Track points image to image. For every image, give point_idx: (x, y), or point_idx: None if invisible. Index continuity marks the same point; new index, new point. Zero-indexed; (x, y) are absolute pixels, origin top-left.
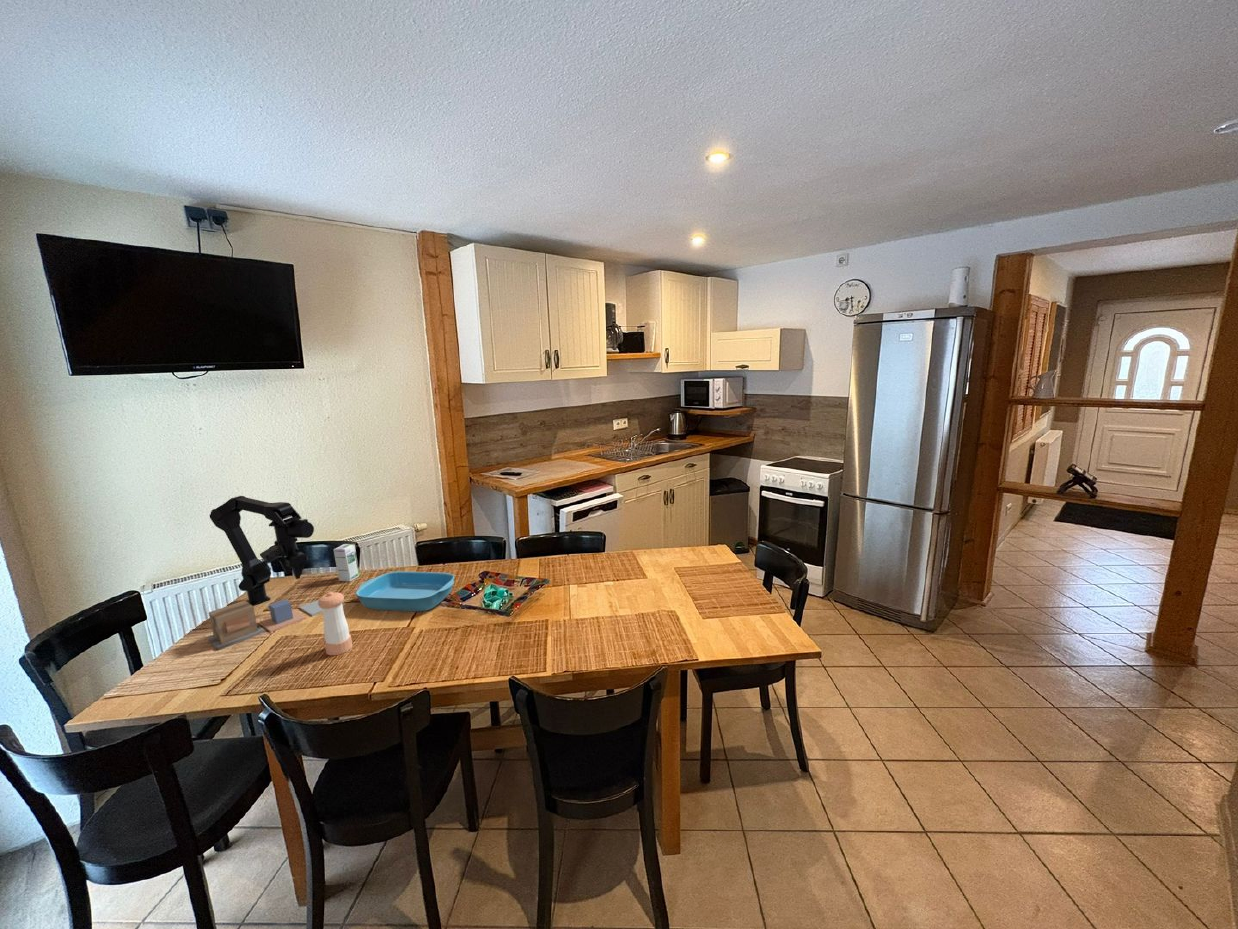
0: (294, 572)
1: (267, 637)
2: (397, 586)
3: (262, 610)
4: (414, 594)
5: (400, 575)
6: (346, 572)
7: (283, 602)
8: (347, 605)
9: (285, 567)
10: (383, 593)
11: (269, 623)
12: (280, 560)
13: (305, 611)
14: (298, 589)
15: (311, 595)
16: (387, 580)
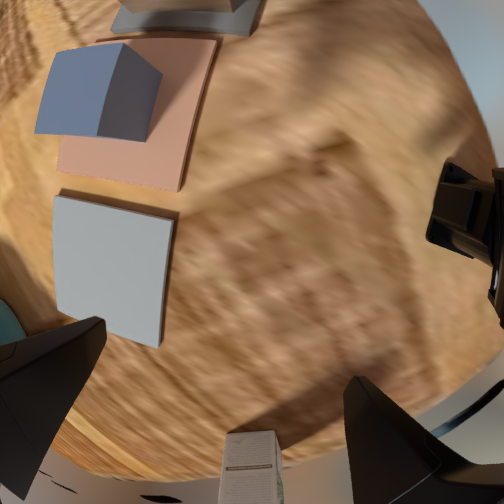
0: (19, 342)
1: (77, 32)
2: None
3: (358, 138)
4: None
5: None
6: (233, 461)
7: (64, 109)
8: (44, 301)
9: (379, 431)
10: None
11: (145, 57)
12: (446, 494)
13: (108, 206)
14: (385, 347)
15: (264, 334)
16: None
